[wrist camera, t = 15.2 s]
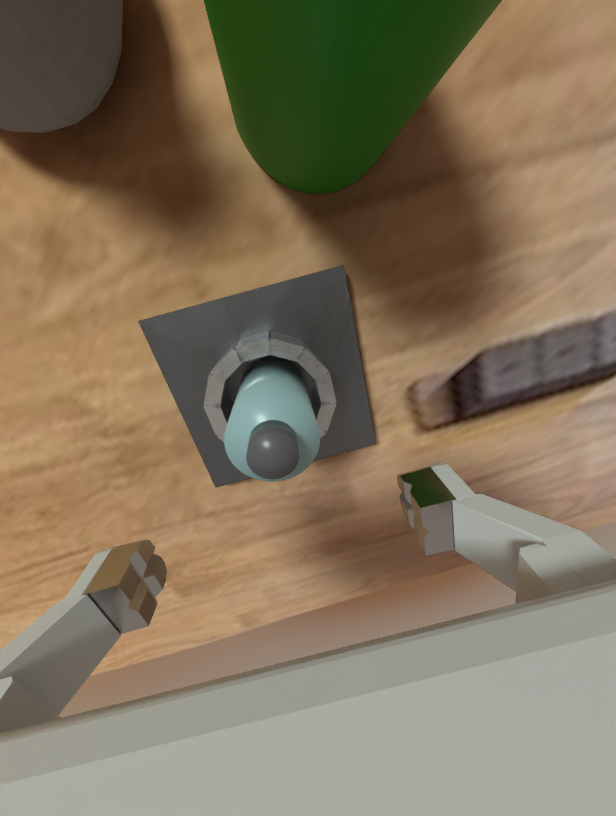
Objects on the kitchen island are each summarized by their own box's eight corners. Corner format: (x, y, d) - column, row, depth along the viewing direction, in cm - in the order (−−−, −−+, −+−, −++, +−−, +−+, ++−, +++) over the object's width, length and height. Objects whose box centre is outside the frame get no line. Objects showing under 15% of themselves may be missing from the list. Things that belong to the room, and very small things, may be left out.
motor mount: (339, 266, 21) (355, 261, 17) (370, 435, 27) (388, 463, 22) (147, 318, 21) (115, 327, 17) (218, 477, 26) (208, 512, 22)
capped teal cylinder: (295, 351, 21) (311, 396, 13) (311, 410, 23) (334, 484, 15) (231, 368, 21) (202, 426, 13) (252, 426, 23) (239, 510, 15)
